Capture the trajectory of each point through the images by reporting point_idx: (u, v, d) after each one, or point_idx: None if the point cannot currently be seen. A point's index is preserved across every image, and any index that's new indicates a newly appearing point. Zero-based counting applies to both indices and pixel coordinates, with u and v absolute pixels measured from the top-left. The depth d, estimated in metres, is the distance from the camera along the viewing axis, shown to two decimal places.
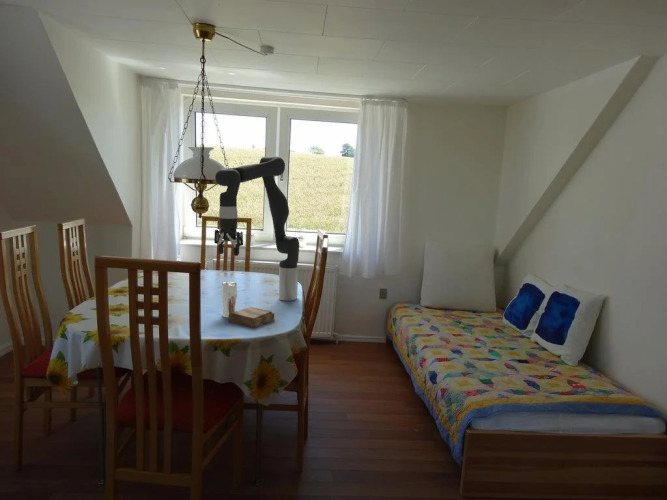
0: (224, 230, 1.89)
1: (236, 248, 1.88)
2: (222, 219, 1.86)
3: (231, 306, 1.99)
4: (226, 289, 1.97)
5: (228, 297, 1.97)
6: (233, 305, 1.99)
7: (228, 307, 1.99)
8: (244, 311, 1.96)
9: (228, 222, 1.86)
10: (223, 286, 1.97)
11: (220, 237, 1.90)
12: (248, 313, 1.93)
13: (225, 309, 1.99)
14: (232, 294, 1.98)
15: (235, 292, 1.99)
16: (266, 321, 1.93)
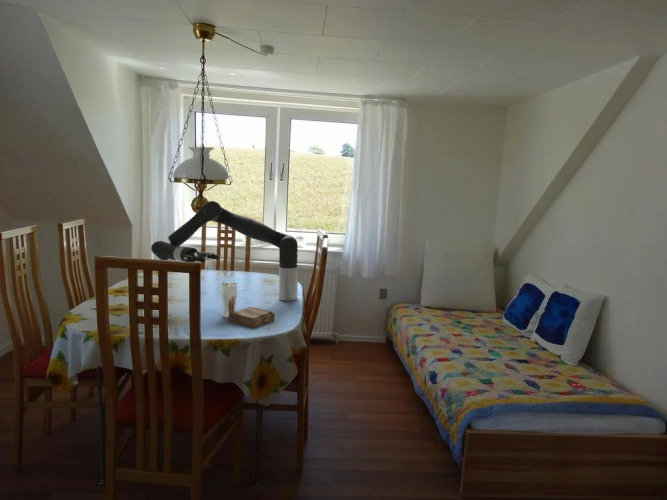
0: None
1: (197, 260, 2.00)
2: None
3: (231, 306, 1.99)
4: (226, 289, 1.97)
5: (228, 297, 1.97)
6: (233, 305, 1.99)
7: (228, 307, 1.99)
8: (244, 311, 1.96)
9: None
10: (223, 286, 1.97)
11: None
12: (248, 313, 1.93)
13: (225, 309, 1.99)
14: (232, 294, 1.98)
15: (235, 292, 1.99)
16: (266, 321, 1.93)
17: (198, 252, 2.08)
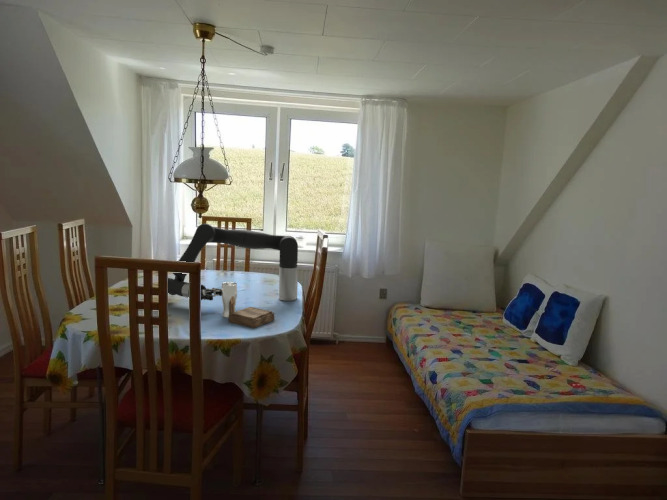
0: None
1: (206, 298, 2.01)
2: None
3: (231, 306, 1.99)
4: (226, 289, 1.97)
5: (228, 297, 1.97)
6: (233, 305, 1.99)
7: (228, 307, 1.99)
8: (244, 311, 1.96)
9: None
10: (223, 286, 1.97)
11: (212, 296, 2.10)
12: (248, 313, 1.93)
13: (225, 309, 1.99)
14: (232, 294, 1.98)
15: (235, 292, 1.99)
16: (266, 321, 1.93)
17: (206, 289, 2.08)
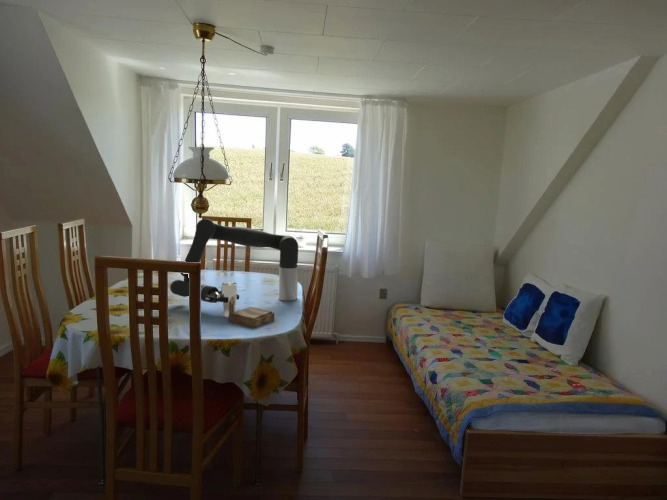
0: None
1: (220, 301, 1.97)
2: None
3: (231, 306, 1.99)
4: (226, 289, 1.97)
5: (228, 297, 1.97)
6: (233, 305, 1.99)
7: (228, 307, 1.99)
8: (244, 311, 1.96)
9: (204, 300, 2.05)
10: (223, 286, 1.97)
11: None
12: (248, 313, 1.93)
13: (225, 309, 1.99)
14: (232, 294, 1.98)
15: (235, 292, 1.99)
16: (266, 321, 1.93)
17: (219, 291, 2.04)
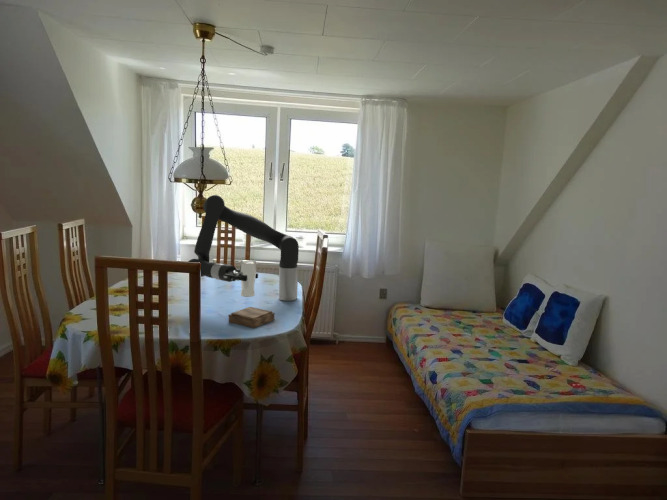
0: None
1: None
2: None
3: (250, 285, 1.92)
4: (245, 267, 1.90)
5: (247, 275, 1.90)
6: (252, 284, 1.93)
7: (246, 285, 1.92)
8: (244, 311, 1.96)
9: (222, 279, 1.98)
10: (242, 264, 1.90)
11: None
12: (248, 313, 1.93)
13: (244, 288, 1.92)
14: (251, 272, 1.91)
15: (254, 270, 1.92)
16: (266, 321, 1.93)
17: (237, 270, 1.97)
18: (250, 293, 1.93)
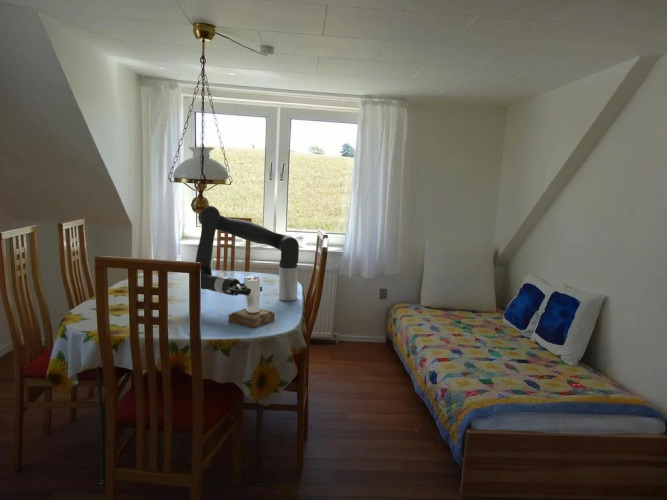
0: None
1: (242, 293, 1.90)
2: None
3: (255, 301, 1.93)
4: (249, 284, 1.90)
5: (251, 292, 1.91)
6: (257, 300, 1.93)
7: (251, 302, 1.92)
8: (244, 311, 1.96)
9: (226, 293, 1.98)
10: (246, 281, 1.91)
11: None
12: (248, 313, 1.93)
13: (249, 304, 1.93)
14: (255, 289, 1.91)
15: (258, 287, 1.92)
16: (266, 321, 1.93)
17: (241, 283, 1.97)
18: (255, 309, 1.93)
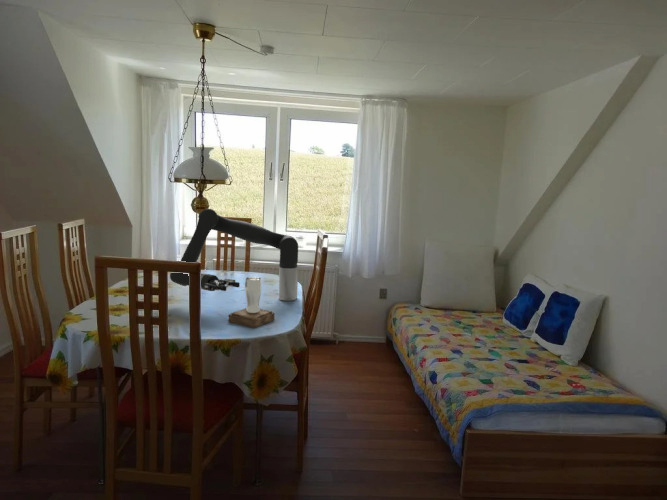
0: None
1: (219, 289, 1.96)
2: None
3: (255, 302, 1.93)
4: (250, 284, 1.91)
5: (252, 292, 1.91)
6: (257, 300, 1.93)
7: (252, 302, 1.93)
8: (244, 311, 1.96)
9: (204, 289, 2.04)
10: (247, 281, 1.91)
11: None
12: (248, 313, 1.93)
13: (249, 304, 1.93)
14: (256, 289, 1.92)
15: (259, 287, 1.93)
16: (266, 321, 1.93)
17: (219, 279, 2.03)
18: (255, 310, 1.93)
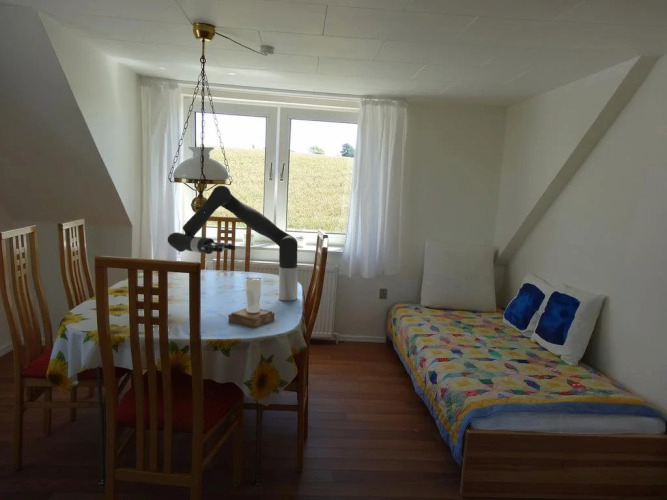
0: None
1: (215, 250, 2.00)
2: None
3: (255, 302, 1.93)
4: (250, 284, 1.91)
5: (252, 292, 1.91)
6: (257, 300, 1.93)
7: (252, 302, 1.93)
8: (244, 311, 1.96)
9: (201, 251, 2.08)
10: (247, 281, 1.91)
11: None
12: (248, 313, 1.93)
13: (249, 304, 1.93)
14: (256, 289, 1.92)
15: (259, 287, 1.93)
16: (266, 321, 1.93)
17: (215, 242, 2.07)
18: (255, 310, 1.93)
